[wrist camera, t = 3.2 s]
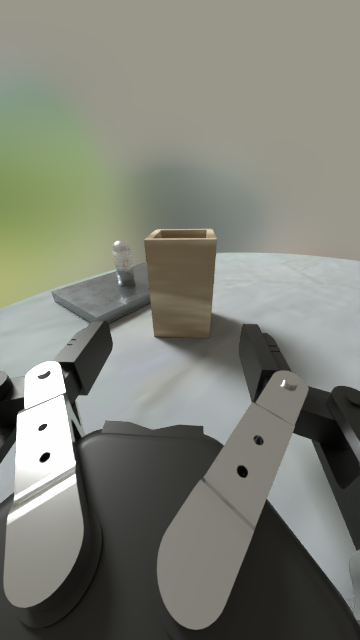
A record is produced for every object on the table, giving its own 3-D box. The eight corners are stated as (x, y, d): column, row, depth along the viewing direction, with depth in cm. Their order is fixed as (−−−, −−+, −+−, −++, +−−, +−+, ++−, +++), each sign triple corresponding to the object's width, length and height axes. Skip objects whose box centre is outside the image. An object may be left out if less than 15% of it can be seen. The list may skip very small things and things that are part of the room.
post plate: (144, 270, 42) (139, 229, 38) (190, 282, 35) (191, 235, 31) (54, 300, 30) (33, 246, 26) (99, 328, 23) (80, 261, 19)
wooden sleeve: (162, 310, 27) (156, 229, 22) (206, 310, 27) (211, 228, 21) (154, 336, 22) (144, 239, 17) (209, 338, 22) (216, 239, 16)
